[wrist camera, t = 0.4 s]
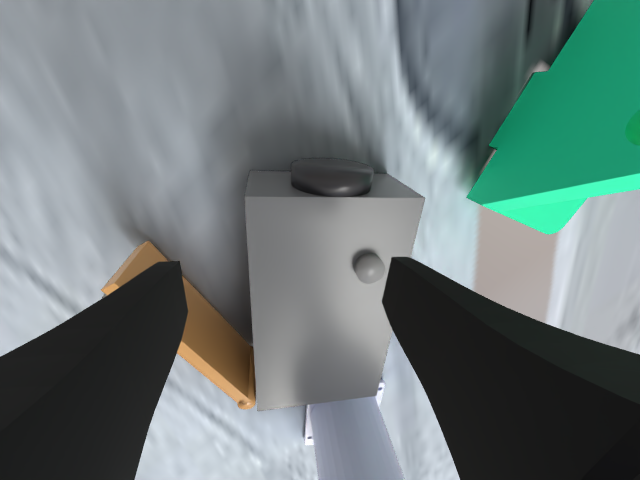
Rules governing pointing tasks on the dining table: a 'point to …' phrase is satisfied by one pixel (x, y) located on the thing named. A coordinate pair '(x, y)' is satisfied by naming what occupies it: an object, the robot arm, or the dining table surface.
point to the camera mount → (571, 126)
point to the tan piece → (202, 334)
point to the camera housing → (323, 277)
